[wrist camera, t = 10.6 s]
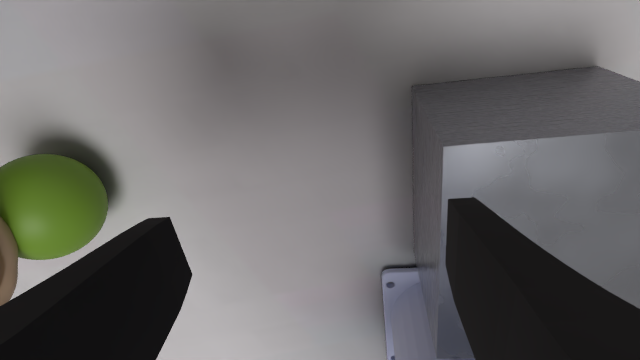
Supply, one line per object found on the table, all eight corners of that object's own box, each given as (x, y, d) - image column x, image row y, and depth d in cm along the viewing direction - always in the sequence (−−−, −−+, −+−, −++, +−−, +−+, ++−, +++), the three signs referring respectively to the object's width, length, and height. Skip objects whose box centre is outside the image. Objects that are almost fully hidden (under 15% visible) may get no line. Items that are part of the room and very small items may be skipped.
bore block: (557, 245, 21) (641, 356, 15) (413, 252, 22) (436, 358, 16) (598, 66, 16) (746, 121, 10) (411, 86, 17) (443, 146, 11)
